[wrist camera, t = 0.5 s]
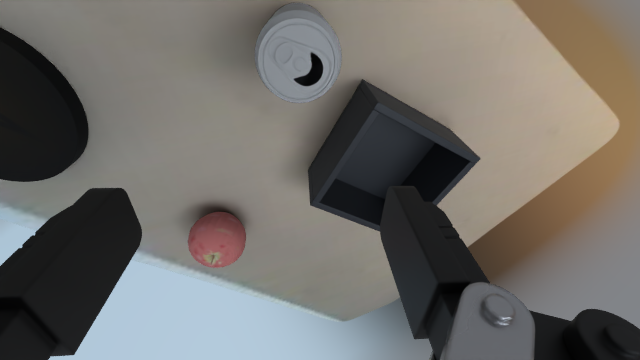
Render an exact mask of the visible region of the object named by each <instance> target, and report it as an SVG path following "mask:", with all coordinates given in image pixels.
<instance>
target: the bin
mask: <svg viewBox="0 0 640 360" xmlns="http://www.w3.org/2000/svg"><path fill="white" fill-rule="evenodd" d="M479 160H480V157H479V156H478V155H476V154H475V153H474V152H473V151H472V150H471V149H470V148H469V147H468V146H467V145H466V144H465V143H464V142H463V141H462V140H461V139H460V138H459V137H458V136H456V135H455V134H454V133H453V132H452V131H451V130H450V129H449V128H447V127H445V126H443V125H442V124H440V123H438V122H436V121H435V120H433V119H431V118H429V117H428V116H426V115H424V114H422V113H421V112H419V111H417V110H415V109H414V108H412V107H410V106H408V105H407V104H405V103H403V102H401V101H400V100H398V99H396V98H394V97H393V96H391V95H389V94H388V93H386V92H384V91H382V90H381V89H379V88H377V87H375V86H374V85H372V84H370V83H368V82H367V81H365V80H362V81H361V83H360V85H359V86H358V88H357V90H356V91H355V93H354V95H353V96H352V98H351V99H350V101H349V103H348V104H347V106H346V108H345V109H344V111H343V113H342V114H341V116H340V118H339V119H338V121H337V123H336V124H335V126H334V128H333V129H332V131H331V133H330V134H329V136H328V138H327V139H326V141H325V143H324V144H323V146H322V148H321V149H320V151H319V153H318V154H317V156H316V157H315V159H314V161H313V162H312V164H311V166H310V167H309V169H308V177H309V192H310V205H311V206H314V207H317V208H319V209H322V210H324V211H327V212H330V213H332V214H335V215H338V216H340V217H343V218H346V219H348V220H351V221H354V222H356V223H359V224H361V225H364V226H367V227H369V228H372V229H375V230H377V231H380V224H381V218H382V213H383V208H384V204H385V199H386V194H387V190H388V188H389V187H390V186H414V187H415V188H416V189H417V191H418V192H419V194H420V196H421V197H422V199H423V201H424V202H432V203H433V204H435V205H437V204H438V203H439V202H440V201H441V200H442V199H443V198H444V197H445V196H446V195H447V194H448V193H449V192H450V191H451V190H452V188H453V187H454V186H455V185H456V184H457V183H458V182H459V181H460V180H461V179H462V178H463V177H464V176H465V175H466V174H467V173H468V172H469V171H470V169H471V168H472V167H473V166H474V165H475V164H476V163H477V162H478V161H479Z"/></svg>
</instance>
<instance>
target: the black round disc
mask: <svg viewBox="0 0 640 360" xmlns="http://www.w3.org/2000/svg"><path fill="white" fill-rule="evenodd" d="M87 141H88V123H87V118H86V115H85V111H84V109H83V106H82V104H81V102H80V100H79V98H78V96H77V95H76V93H75V91H74V90H73V88H72V87H71V85H70V84H69V83H68V81H67V80H66V79H65V78H64V76H63V75H62V74H61V73H60V72H59V71H58V70H57V68H56V67H55V66H54V65H53V64H52V63H51V62H49V61H48V60H47V59H46V58H45V57H44V56H43V55H41V54H40V53H39V52H38V51H37V50H35V49H34V48H33V47H31V46H30V45H29V44H27V43H26V42H24V41H23V40H21V39H20V38H18V37H16V36H15V35H13V34H11V33H9V32H7V31H6V30H4V29H2V28H0V179H3V180H9V181H19V182H30V181H39V180H44V179H48V178H51V177H54V176H56V175H58V174H59V173H61V172H63V171H64V170H65V169H66V168H68V167H69V166H70V165H71V164H73V163H74V162H75V161H76V160H77V159H78V158H79V157H80V156H81V155H82V153H83V152H84V150H85V147H86V145H87Z"/></svg>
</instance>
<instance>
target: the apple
mask: <svg viewBox="0 0 640 360" xmlns="http://www.w3.org/2000/svg"><path fill="white" fill-rule="evenodd" d="M245 241H246V233H245V229H244V227H243V225H242V224H241V222H240V221H239V220H238V219H237V218H236V217H235V216H233V215H231V214H229V213H226V212H214V213H210V214H207V215H205V216H204V217H202V218H200V219H199V220H197V221H196V223H195V224H194V225H193V227H192V228H191V230H190V233H189V238H188V246H189V251H190V253H191V255H192V256H193V257H194V259H195V260H196V261H198V262H199V263H201V264H203V265H205V266H208V267H216V268H218V267H224V266H227V265H230V264H232V263H233V262H235V261H236V260H237V259H238V258H239V257H240V256H241V254H242V252H243V250H244V248H245Z"/></svg>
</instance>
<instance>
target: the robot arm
mask: <svg viewBox="0 0 640 360" xmlns="http://www.w3.org/2000/svg"><path fill="white" fill-rule="evenodd" d="M380 234H381V240H382V243H383V246H384V249H385V252H386V255H387V258H388V261H389V264H390V267H391V270H392V273H393V276H394V279H395V282H396V285H397V289H398V292H399V295H400V298H401V301H402V303H403V307H404V309H405V313H406V316H407V319H408V321H409V325H410V328H411V331H412V334H413V337H414V339H426V338H429V341H430V344H431V346H432V349H433V351H432V353H431V355H430V359H429V360H640V329H639V328H637V327H636V326H634V325H633V324H631V323H630V322H628V321H627V320H625V319H623V318H621V317H619V316H617V315H614V314H612V313H609V312H606V311H602V310H598V309H587V310H584V311H582V312H580V313H579V314H578V315H577V316H576V317H575V318H574V319H573V320H572V321H568V320H565V319H561V318H557V317H553V316H549V315H545V314H541V313H537V312H533V311H530V310H528V309H527V307H526V306H525V305H524V304H523V303H522V302H521V301H520V300H519V299H518V298H517V297H516V296H514V295H513V294H512V293H510V292H509V291H507V290H505V289H503V288H501V287H499V286H496V285H493V284H490V282H489V281H488V279H487V278H486V276H485V275H484V273H483V271H482V270H481V268H480V267H479V266H478V264H477V262H476V261H475V259H474V258H473V256H472V254H471V253H470V251H469V250H468V248H467V247H466V245H465V244H464V242H463V241H462V239H460V238H459V234H458V233H457V231H456V230H455V228H453V227H452V224H451V222H450V220H449V219H448V217H447V216H446V214H445V213H444V212H443V211H442V210H441V209H440V208H438V207H437V206H436V205H435V204H433V203H432V202H424V201H423V199H422V197H421V196H420V194H419V192H418V191H417V189H416V188H415V187H414V186H390V187H389V188H388V190H387V194H386V199H385V204H384V208H383V213H382V218H381V224H380ZM141 238H142V229H141V225H140V223H139V221H138V218H137V216H136V213H135V211H134V209H133V206H132V204H131V202H130V199H129V197H128V195H127V193H126V191H125V190H124V189H122V188H92V189H89V190H88V191H87V192H86V193H85V194H84V195H83V196H82V197H81V198H79V199H78V200H77V201H76V202H75V203H74V204H73V205H72V206H70V207H68V208H66V209H65V210H63V211H61V212H60V213H58V214H56V215H55V216H53V217H51V218H50V219H49V220H48V221H47V222H46V223H45V224H44V225H43V226H42V227H41V228H40V229H38V230H37V231H36V234H35V236H31V237H30V238H29V239H28V240H27V241H26V242H25V243H24V244H23V247H22V248H19V249H18V250H17V251H15V253H13V254H12V255H11V256H10V257H9V258H8V259H7V260H6V261H5V262H4V263H3V264H2V265H1V266H0V360H48V359H49V358H50V356H65V355H74V354H75V352H76V351H77V349H78V347H79V346H80V344H81V342H82V341H83V339H84V337H85V336H86V334H87V332H88V331H89V329H90V327H91V326H92V324H93V322H94V321H95V319H96V317H97V316H98V314H99V312H100V311H101V309H102V307H103V306H104V304H105V302H106V301H107V299H108V297H109V295H110V294H111V292H112V290H113V289H114V287H115V285H116V283H117V282H118V280H119V279H120V277H121V275H122V273H123V272H124V270H125V269H126V267H127V265H128V264H129V262H130V260H131V259H132V257H133V255H134V254H135V252H136V250H137V249H138V247H139V245H140V242H141Z"/></svg>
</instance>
